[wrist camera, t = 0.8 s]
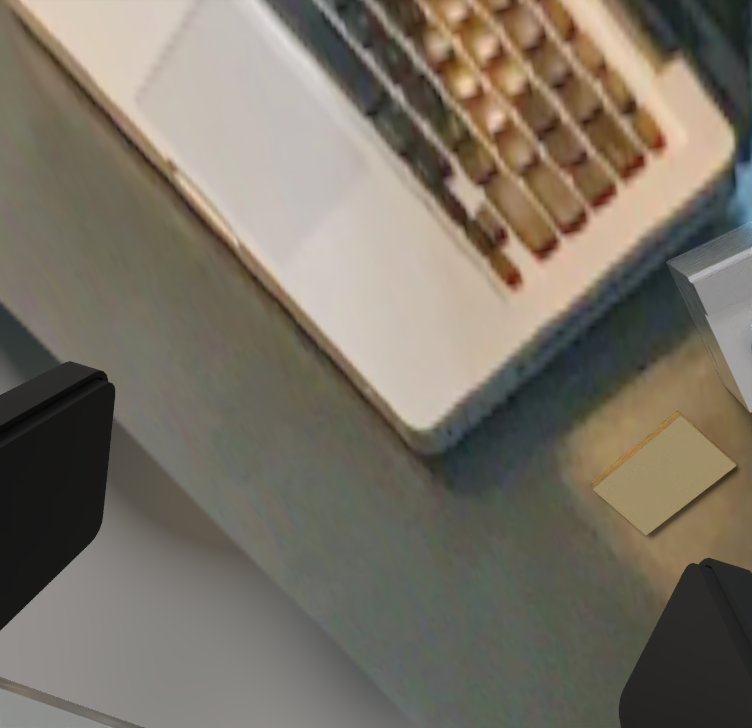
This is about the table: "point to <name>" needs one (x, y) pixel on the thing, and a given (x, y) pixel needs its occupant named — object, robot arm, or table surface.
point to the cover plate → (662, 473)
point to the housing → (722, 304)
